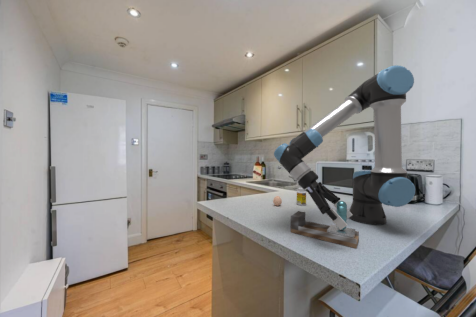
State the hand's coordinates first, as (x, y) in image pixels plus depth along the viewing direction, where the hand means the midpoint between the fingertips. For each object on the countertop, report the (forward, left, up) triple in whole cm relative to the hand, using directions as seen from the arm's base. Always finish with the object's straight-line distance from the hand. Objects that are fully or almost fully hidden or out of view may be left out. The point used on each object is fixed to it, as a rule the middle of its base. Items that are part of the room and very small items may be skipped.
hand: (347, 221), depth 68 cm
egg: (+20, -47, -7) cm, 51 cm away
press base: (+7, -4, -7) cm, 10 cm away
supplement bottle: (+5, -52, -7) cm, 53 cm away
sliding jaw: (+2, -1, -5) cm, 5 cm away
